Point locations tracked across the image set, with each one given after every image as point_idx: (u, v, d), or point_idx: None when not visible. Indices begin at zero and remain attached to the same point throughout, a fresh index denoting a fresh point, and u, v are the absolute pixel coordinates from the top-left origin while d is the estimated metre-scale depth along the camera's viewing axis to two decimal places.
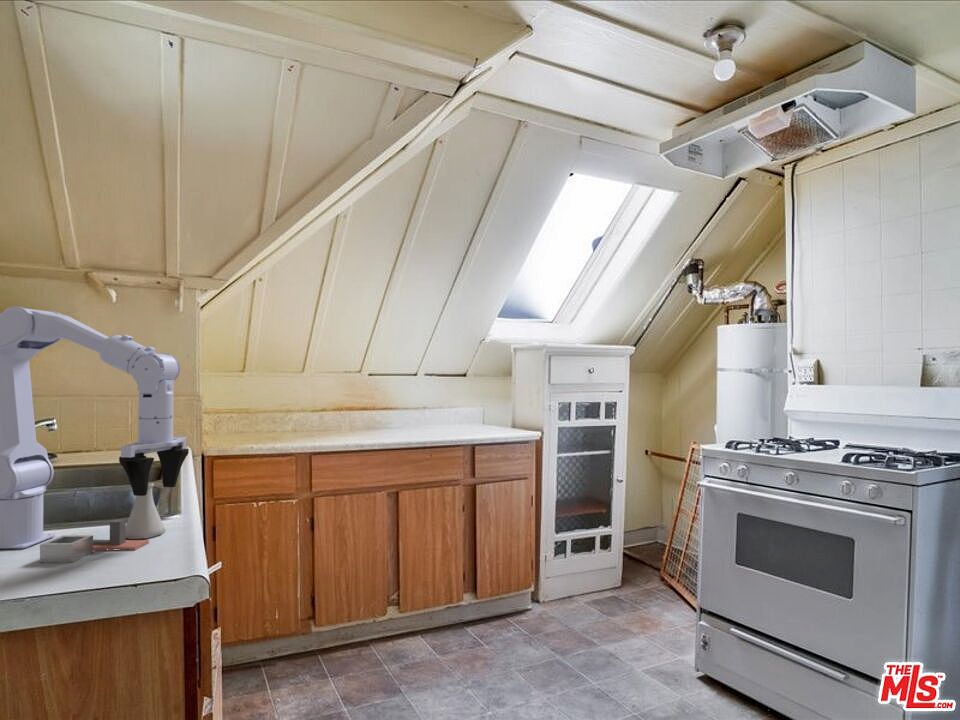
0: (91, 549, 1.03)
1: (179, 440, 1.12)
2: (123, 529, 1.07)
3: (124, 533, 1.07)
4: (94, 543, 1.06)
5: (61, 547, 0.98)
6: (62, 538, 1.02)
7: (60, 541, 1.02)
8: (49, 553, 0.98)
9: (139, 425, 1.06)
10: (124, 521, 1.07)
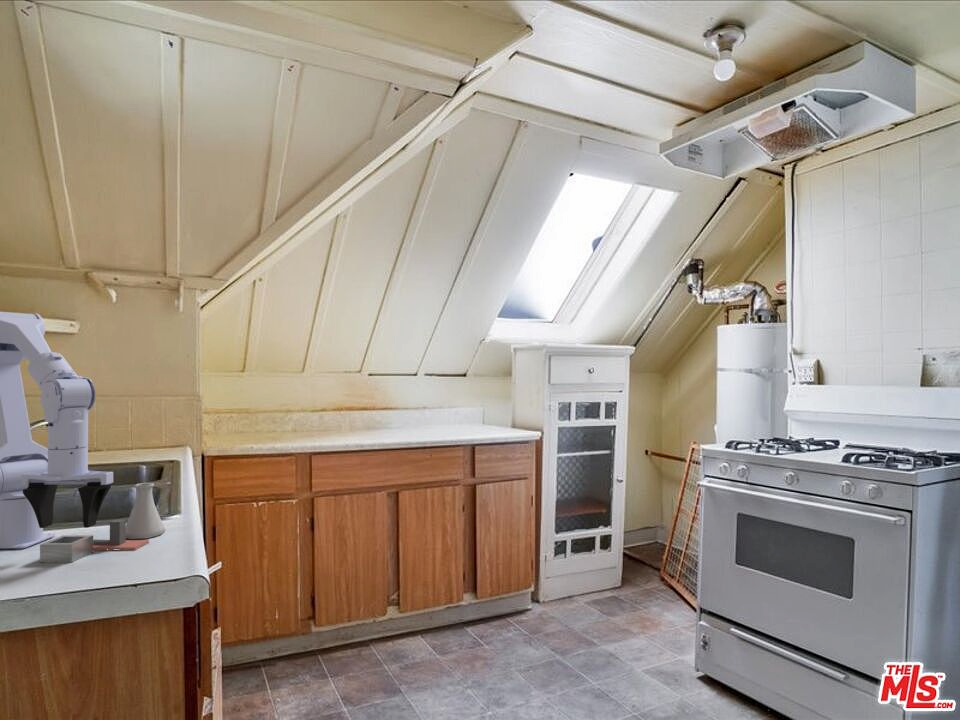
0: (91, 549, 1.03)
1: (86, 476, 0.99)
2: (123, 529, 1.07)
3: (124, 533, 1.07)
4: (94, 543, 1.06)
5: (61, 547, 0.98)
6: (62, 538, 1.02)
7: (60, 541, 1.02)
8: (49, 553, 0.98)
9: None
10: (124, 521, 1.07)
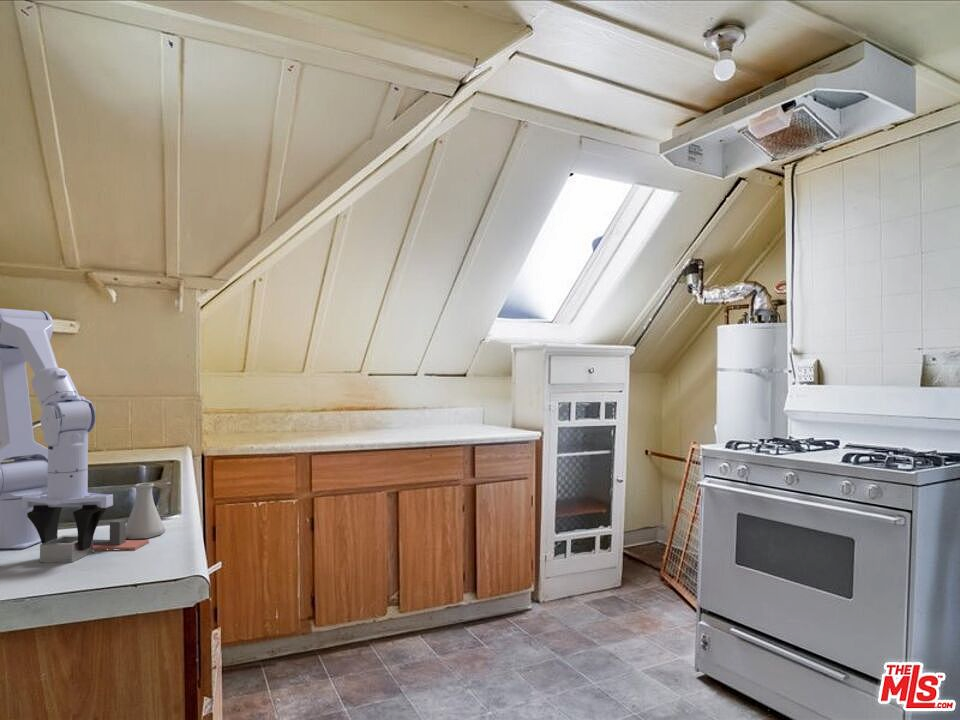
0: (91, 549, 1.03)
1: (86, 499, 0.99)
2: (123, 529, 1.07)
3: (124, 533, 1.07)
4: (94, 543, 1.06)
5: (61, 547, 0.98)
6: (62, 538, 1.02)
7: (60, 541, 1.02)
8: (49, 553, 0.98)
9: None
10: (124, 521, 1.07)
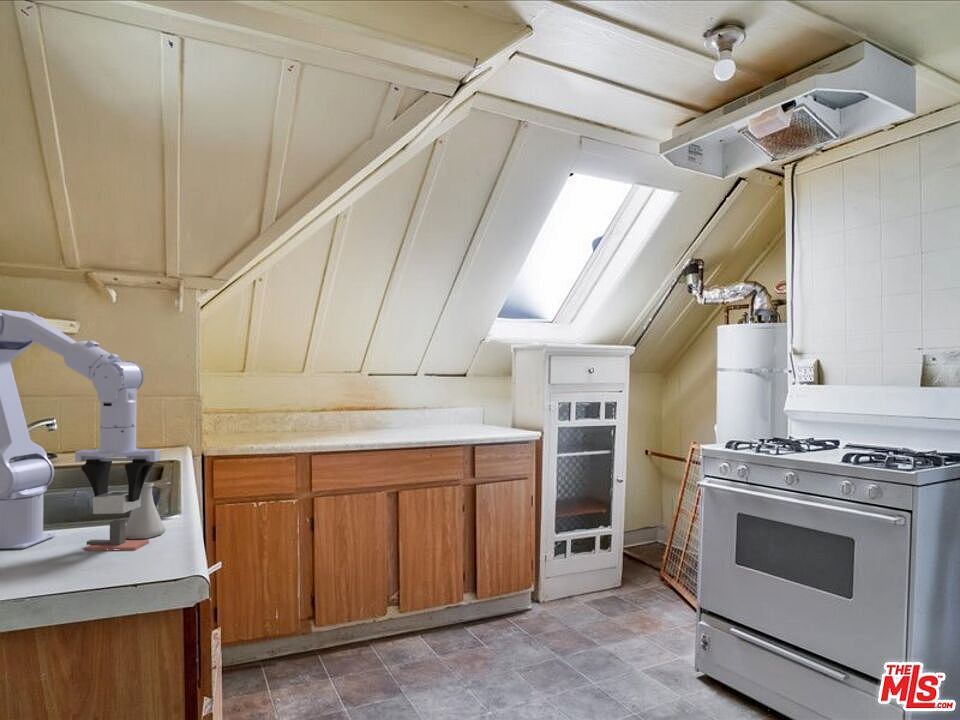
0: (139, 503, 1.09)
1: (136, 453, 1.05)
2: (123, 529, 1.07)
3: (124, 533, 1.07)
4: (94, 543, 1.06)
5: (113, 499, 1.04)
6: (112, 493, 1.08)
7: (110, 495, 1.08)
8: (101, 505, 1.04)
9: None
10: (124, 521, 1.07)
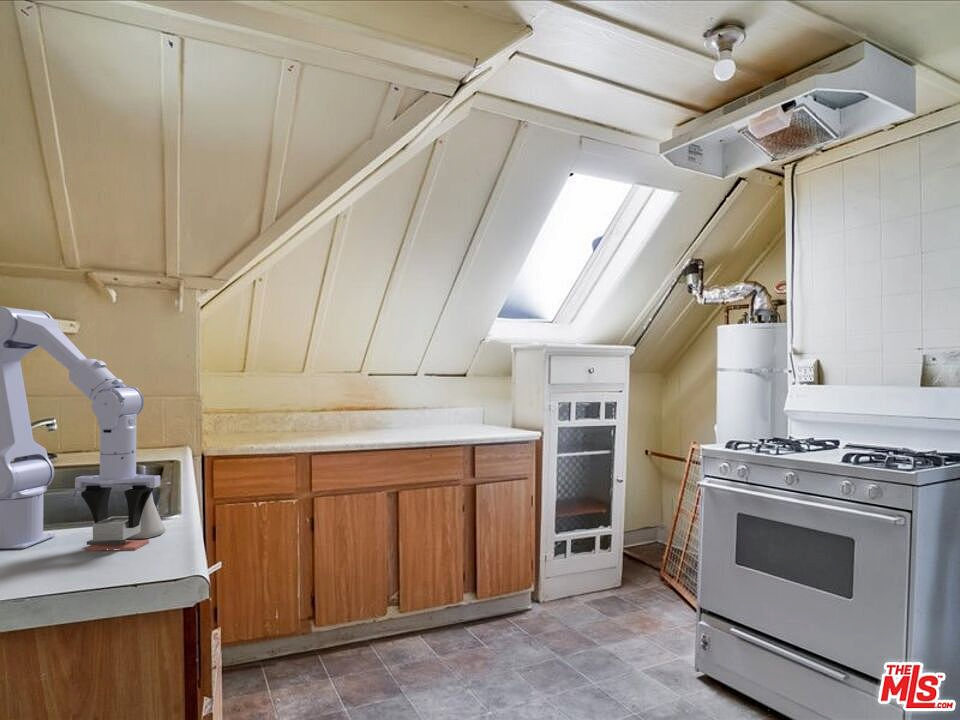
0: (139, 529, 1.09)
1: (136, 479, 1.05)
2: None
3: None
4: (94, 543, 1.06)
5: (113, 526, 1.04)
6: (111, 519, 1.08)
7: (110, 521, 1.08)
8: (101, 532, 1.04)
9: None
10: None
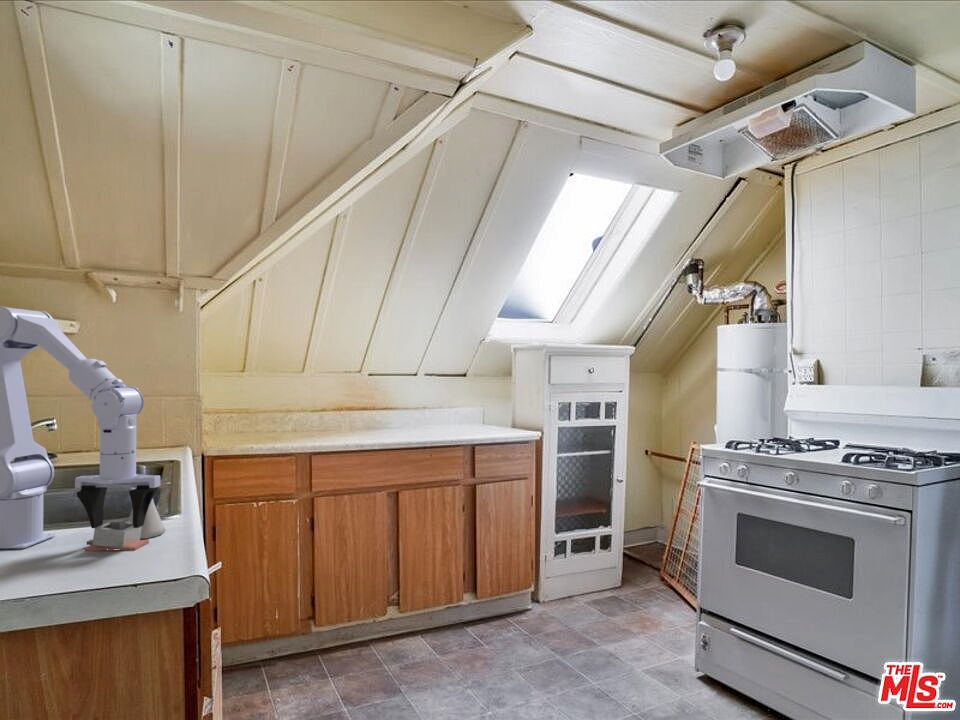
0: (139, 537, 1.09)
1: (136, 479, 1.05)
2: (123, 529, 1.07)
3: None
4: None
5: (114, 533, 1.04)
6: None
7: None
8: (102, 537, 1.04)
9: None
10: (124, 521, 1.07)
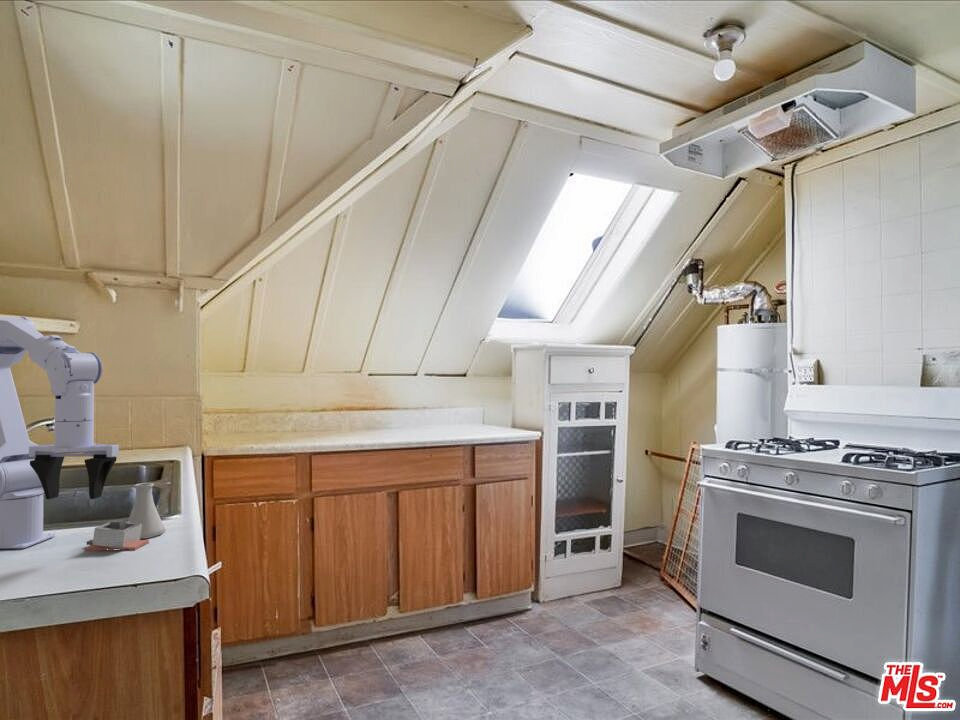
0: (139, 537, 1.09)
1: (92, 448, 1.01)
2: (123, 529, 1.07)
3: None
4: None
5: (114, 533, 1.04)
6: None
7: None
8: (102, 537, 1.04)
9: None
10: (124, 521, 1.07)
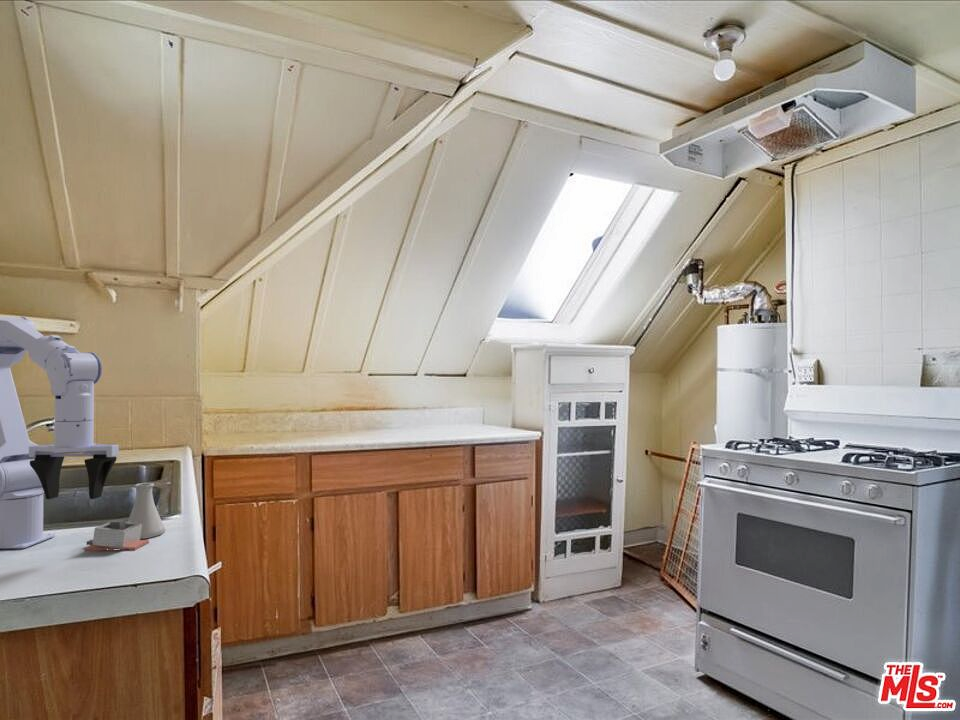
0: (139, 537, 1.09)
1: (92, 448, 1.01)
2: (123, 529, 1.07)
3: None
4: None
5: (114, 533, 1.04)
6: None
7: None
8: (102, 537, 1.04)
9: None
10: (124, 521, 1.07)
